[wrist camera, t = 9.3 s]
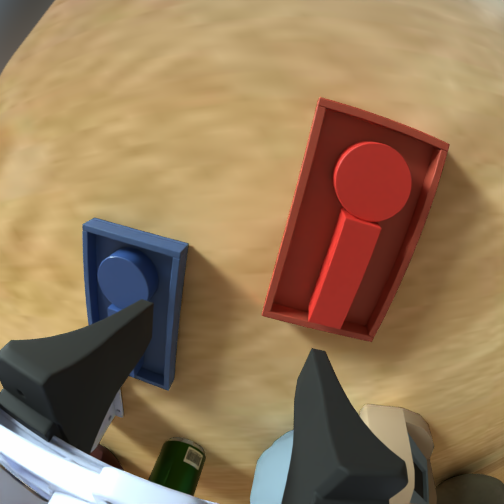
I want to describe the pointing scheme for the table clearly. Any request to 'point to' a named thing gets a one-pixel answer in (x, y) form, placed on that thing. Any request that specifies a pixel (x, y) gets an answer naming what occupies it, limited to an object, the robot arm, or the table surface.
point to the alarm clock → (387, 431)
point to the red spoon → (357, 224)
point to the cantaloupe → (471, 490)
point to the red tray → (327, 210)
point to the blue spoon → (127, 282)
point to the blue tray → (165, 298)
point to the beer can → (179, 465)
